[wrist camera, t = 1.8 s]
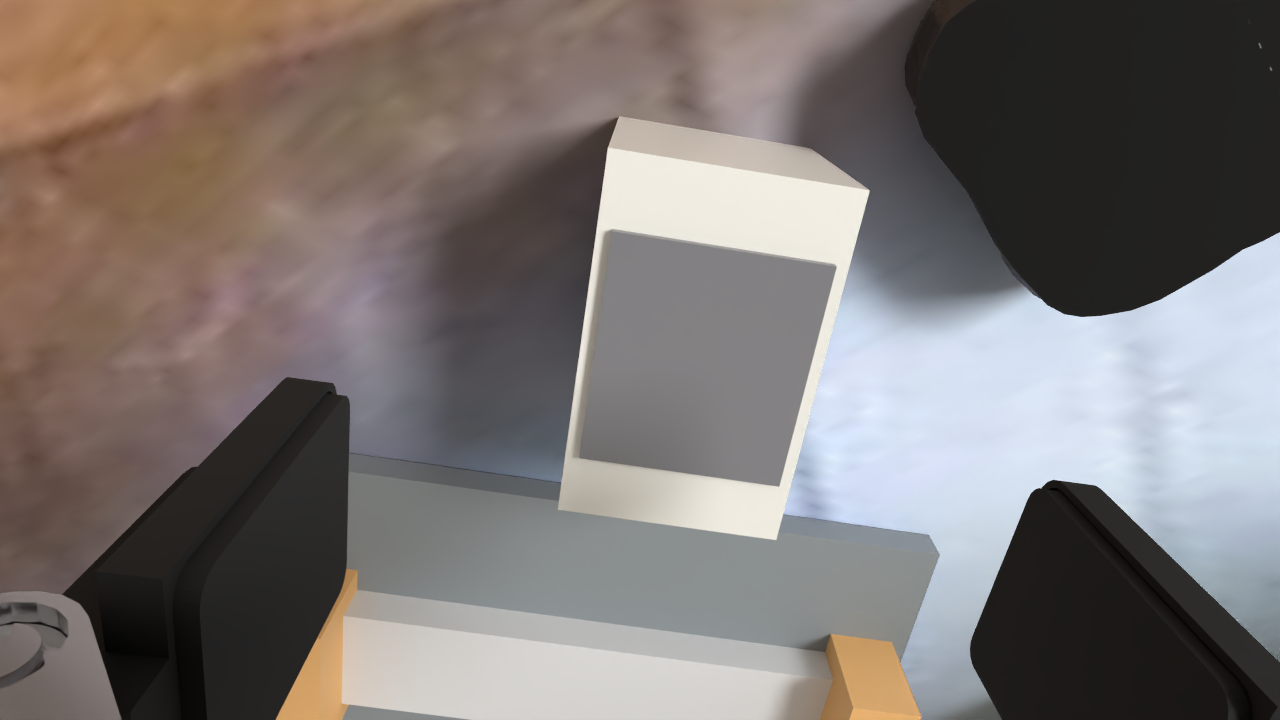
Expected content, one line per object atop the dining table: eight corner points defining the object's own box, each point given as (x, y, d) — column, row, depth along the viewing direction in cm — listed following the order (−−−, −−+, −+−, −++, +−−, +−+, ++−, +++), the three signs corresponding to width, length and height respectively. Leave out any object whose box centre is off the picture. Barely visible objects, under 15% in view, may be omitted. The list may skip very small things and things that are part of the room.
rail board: (929, 535, 25) (977, 622, 21) (834, 801, 29) (860, 912, 26) (288, 444, 24) (222, 519, 20) (292, 735, 28) (239, 839, 25)
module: (810, 147, 20) (872, 192, 15) (746, 420, 24) (777, 545, 18) (619, 116, 20) (607, 149, 15) (579, 396, 23) (557, 514, 18)
